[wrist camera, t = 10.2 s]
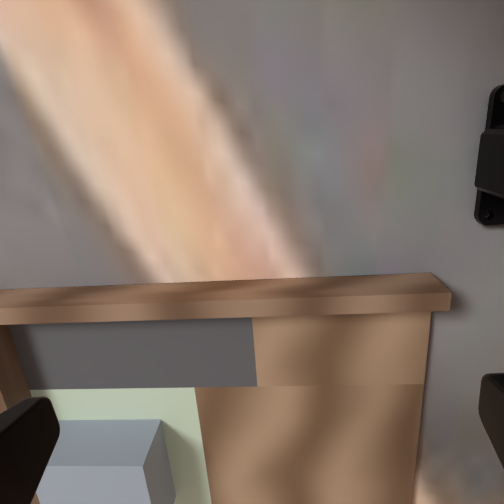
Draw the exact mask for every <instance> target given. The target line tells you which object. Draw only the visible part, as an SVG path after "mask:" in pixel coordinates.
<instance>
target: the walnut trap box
mask: <svg viewBox="0 0 504 504" xmlns="http://www.w3.org/2000/svg"><path fill="white" fill-rule="evenodd" d="M451 296H452V292H451V291H450V290H449V289H448V288H447V287H445V286H444V285H443V284H442V283H441V282H440V281H439V280H438V279H437V278H436V277H435V276H434V275H433V274H432V273H413V274H387V275H362V276H337V277H311V278H286V279H261V280H235V281H210V282H184V283H159V284H134V285H108V286H83V287H58V288H32V289H7V290H0V413H2V412H4V411H6V410H7V409H9V408H11V407H12V406H14V405H16V404H18V403H19V402H21V401H23V400H24V399H26V398H29V397H32V396H31V393H30V390H29V386H28V383H27V380H26V377H25V374H24V371H23V368H22V365H21V362H20V359H19V356H18V353H17V350H16V347H15V344H14V341H13V338H12V335H11V332H10V329H9V326H8V325H12V324H45V323H77V322H110V321H142V320H175V319H207V318H240V317H252V324H253V337H254V349H255V362H256V374H257V387H194V389H195V396H196V402H197V409H198V416H199V422H200V429H201V436H202V443H203V449H204V456H205V463H206V469H207V476H208V483H209V489H210V496H211V503H212V504H412V499H413V489H414V479H415V469H416V459H417V449H418V439H419V429H420V420H421V410H422V400H423V390H424V380H425V370H426V360H427V350H428V340H429V331H430V321H431V312H435V311H450V304H451ZM31 504H40V502H39V499H38V496H37V493H35V495H34V498H33V500H32V502H31Z"/></svg>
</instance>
